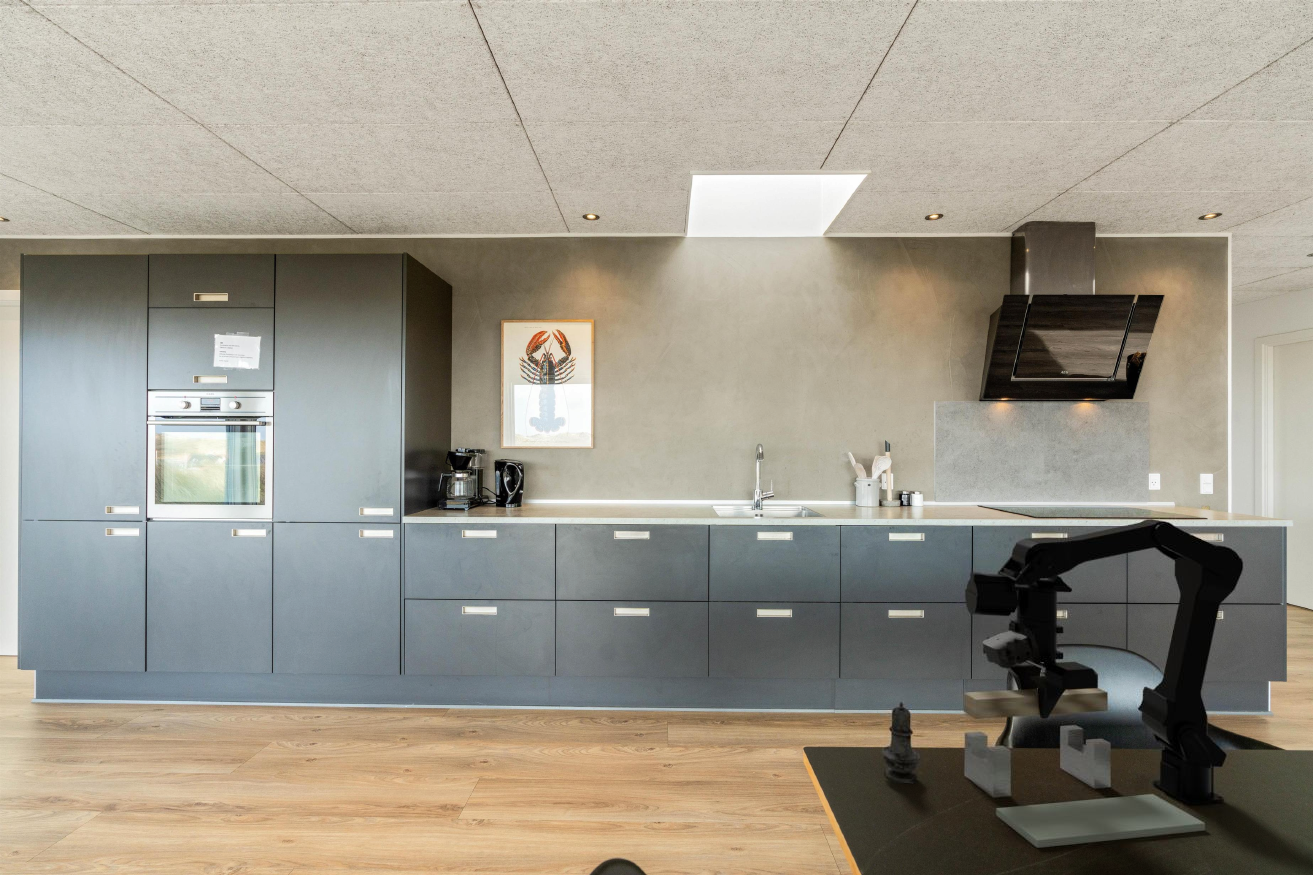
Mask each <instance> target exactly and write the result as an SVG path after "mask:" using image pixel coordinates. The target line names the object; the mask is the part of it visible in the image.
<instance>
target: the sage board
mask: <svg viewBox="0 0 1313 875" xmlns="http://www.w3.org/2000/svg"><path fill="white" fill-rule="evenodd" d="M995 810H996V811H995V815H996V816H997V817H998V818H999V819H1000V820H1001V821H1003V822H1004V823H1005V824H1006V825H1007V826H1009V827H1011V829H1013V830H1014V831H1015V832H1017V834H1019V835H1020V836H1022V837H1023V838H1024V839H1026V841H1028V842H1029V843H1030V844H1032V845H1033V846H1034V847H1036V849H1037V848H1039V849H1040V848H1049V847H1057V846H1068V845H1078V844H1087V843H1096V842H1105V841H1116V840H1124V839H1125V840H1126V839H1134V838H1144V837H1145V838H1146V837H1154V836H1155V837H1156V836H1163V835H1172V834H1173V835H1174V834H1184V833H1191V832H1201V831H1206V823H1205V822H1203V821H1202V820H1200V819H1198V818H1197V817H1194V816H1192V815H1191V814H1190V813H1188V812H1186V811H1184V810H1182V809H1181V808H1178V807H1177V806H1175V805H1173V804H1172V803H1169V802H1168V801H1166V800H1164V799H1162V797H1159V796H1157V795H1155V794H1153V793H1149V794H1139V795H1130V796H1129V795H1128V796H1127V795H1126V796H1118V797H1107V798H1106V797H1105V798H1096V799H1095V798H1094V799H1086V800H1085V799H1083V800H1073V801H1064V802H1063V801H1060V802H1054V803H1053V802H1051V803H1042V804H1029V805H1017V806H1008V807H998V808H995Z"/></svg>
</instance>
